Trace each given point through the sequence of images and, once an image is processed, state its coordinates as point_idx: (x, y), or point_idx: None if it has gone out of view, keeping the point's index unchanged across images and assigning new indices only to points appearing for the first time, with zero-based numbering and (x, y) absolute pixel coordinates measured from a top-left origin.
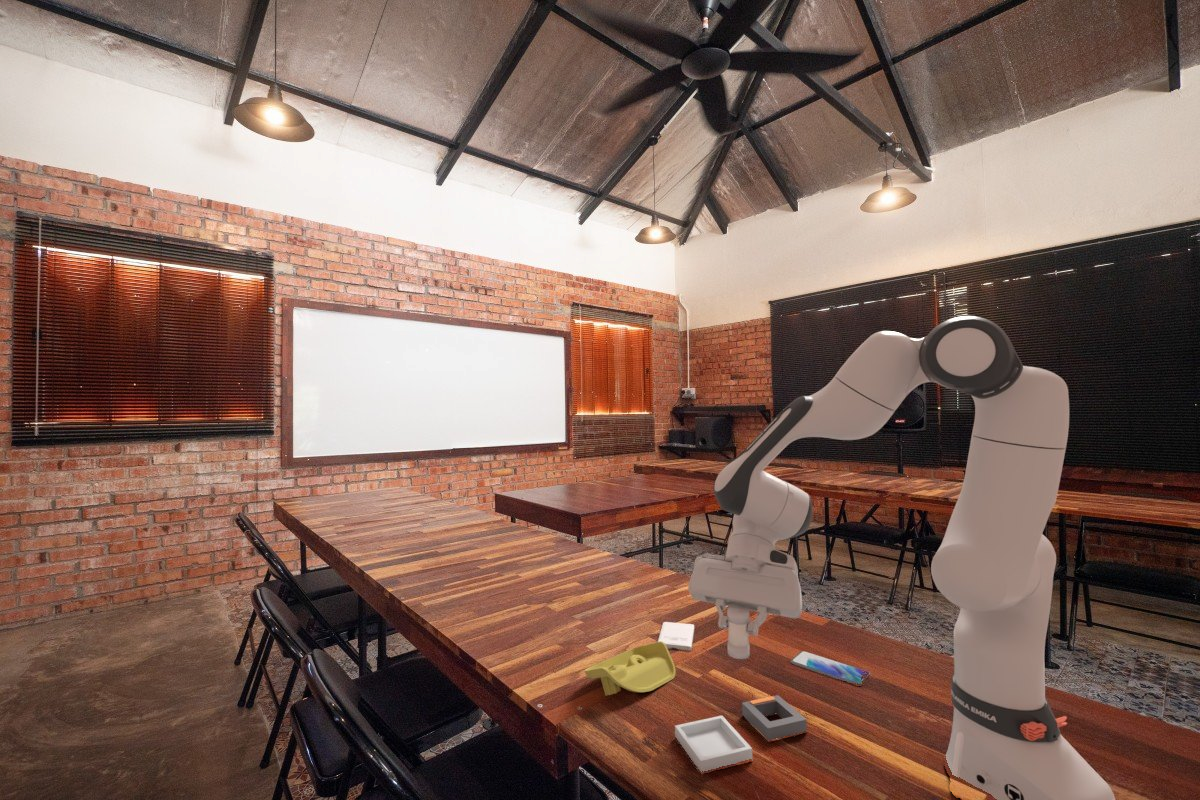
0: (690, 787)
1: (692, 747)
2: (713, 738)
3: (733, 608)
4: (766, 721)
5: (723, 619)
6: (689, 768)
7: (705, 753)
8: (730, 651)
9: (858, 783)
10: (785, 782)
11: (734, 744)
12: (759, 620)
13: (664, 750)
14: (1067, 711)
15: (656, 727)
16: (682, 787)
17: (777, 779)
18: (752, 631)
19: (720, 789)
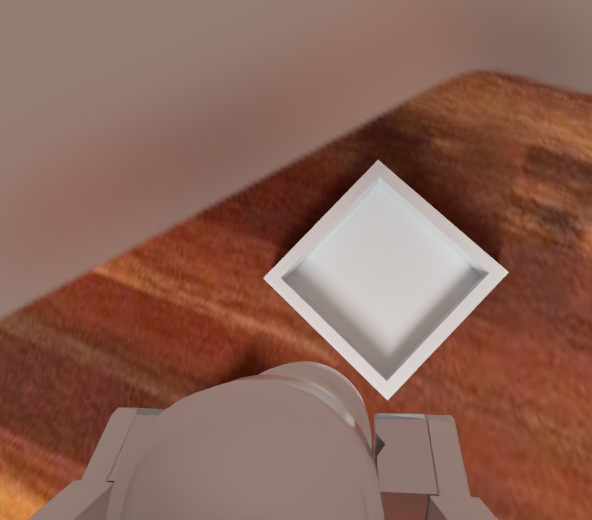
0: (385, 122)
1: (419, 200)
2: (388, 313)
3: (298, 506)
4: None
5: (412, 452)
6: (411, 181)
7: (388, 238)
8: (336, 373)
9: (28, 327)
10: (183, 248)
11: (325, 316)
12: (52, 500)
13: (501, 213)
14: None
15: (572, 300)
16: (403, 113)
17: (202, 249)
18: (148, 410)
19: (319, 151)
